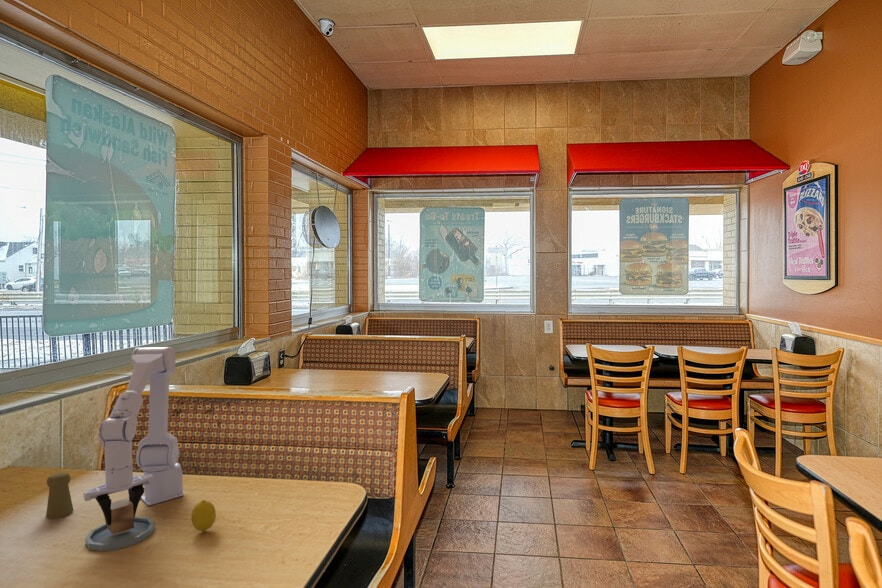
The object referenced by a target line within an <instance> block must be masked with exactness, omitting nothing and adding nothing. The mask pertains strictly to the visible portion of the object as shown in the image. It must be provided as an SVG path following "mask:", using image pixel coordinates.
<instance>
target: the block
mask: <svg viewBox="0 0 882 588" xmlns="http://www.w3.org/2000/svg"><path fill="white" fill-rule="evenodd" d="M107 528H108V529H109V531H110V532H111V533H112V534H115V533H119V532H122V531H125V530H128V529H131V528H134V511H133V503H132V502H131V501H130V500H129V497H128V498H124V499H120V500H117V501H114V502H111V525H107Z"/></svg>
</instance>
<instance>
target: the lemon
mask: <svg viewBox="0 0 882 588" xmlns="http://www.w3.org/2000/svg"><path fill="white" fill-rule="evenodd" d="M216 515H217V513H216V508H215V505H214V504H213V503H212V502H211V501H210V500H209V501H208V500H205V499H202V500H201V501H199V502H198V503H197V504H196V505H195V506H194V507H193V509H192V511H191V518H190V519H191V523H192V526H193V528H194V529H195V530H196V531H197V530H198V531H201V532H202V533H204V532H205V533H206V531H207V530H208V529H210V528H211V527H212V526H213V525H214V523H215V522H216Z"/></svg>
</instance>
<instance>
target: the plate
mask: <svg viewBox="0 0 882 588" xmlns="http://www.w3.org/2000/svg"><path fill="white" fill-rule="evenodd" d="M154 530H155V522H154V521H153V520H152V518H150V517H145V516H144V517H143V516H135V518H134V528H131V529H128V530H125V531H122V532H119V533H115V534H112V533H111V532H110V531H109V529H108V528H107V524H106V522H104V523H103V524H101V525H99V526H97V527H95V528H94V529H92V530H90V532H89V533H88V534H87V535H86V537H85V540H84V541H85V543H84V544H85V545H86V544H87V545H86V546H88V547H87V548H88V550H90V549H91V550H92V551H98V552H107V550H108V551H114V550H115V549H116V550H121V548H122V549H124V547H125V548H128V547H130V546H134V545H137V544H139V543H141V542H142V541H144V540H145V539H147V538H149V537H150V536H151V535H152V534H153V532H154ZM113 549H114V550H113Z"/></svg>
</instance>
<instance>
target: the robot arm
mask: <svg viewBox="0 0 882 588" xmlns="http://www.w3.org/2000/svg"><path fill="white" fill-rule="evenodd" d="M176 356H177V355H176V352H175V350H174V348H173V347H172V346H163V347H162V346H159V347H157V346H156V347H141V346H138V347H135V348H134V349H133V351H132V353H131V355H130V362H131V367H132V368H131V369H132V372H131V375H130V379H129V382H128V385H127V387H126V391H124V392H121V393H120V394H119V395H118V397H117V399H116V402H115V404H114V406H113V408H112V410H111V413H110V415H109V416H108V418H106V419H104V420H103V421H102V422H101V424H100V425H99V429H98V438H99V441H100V442H101V449H102V450H104V471H105V473H104V474H105V484H102V485H99V486H97V487H93V488H91V489H88V490H84V491H83V500H84V502H90V501H92V499H94V500H96V502H97V503H98V505H99V507H100V509H101V511H102V514H103V516H104V517H103V518H104V521H105V523H106V524H107V525H111V503H112V499H111V498H110V495H112V494H115V493H119V492H124V491H128V499H129V500H130V501H131V502H132V503H133V511H134V518H135V517H136V514H137V510H138V506H139V503H140V501H141V500H142V501H143V502H144V503H145V504H146V505H148V506H152V505H156V504H160V503H163V502H166V501H169V500H173V499H176V498H180V497H182V496H184V495H185V494H184V490H183V489H184V486H183V484H184V483H183V470H182V466H181V464H180V463H179V462H178V460H179V457H180V449H179V442H178V441H179V440H178V438H177V437H176V436H174V435H173V434H171V433H170V432H168V431H169V430H168V428H169V427H168V426H169V425H168V424H169V396H170V395H169V394H170V393H169V391H170V390H169V389H170V376H172V375H174V374H175V370H176ZM148 382H149V401H148V402H149V403H148V404H149V405H148V426H147V427H148V428H147V429H148V430H147V431H148V433H147V434H148V435H146V436H144V437H143V438H142V439H140V441H139V442H138V446H137V447H138V449H137V452H136V454H135V461H136V465H137V466H138V467H139V468H141V471H142V472H143V474H144V475H139V476H134V473H133V471H134V470H133V469H134V468H133V440H134V438H135V436H136V434H137V425H138V415H139V412H140V410H141V408H142V406H143V402H144V398H143V396H142V395H143V393H144V392H143V391H144V390H145V388H146V386H147V384H148Z"/></svg>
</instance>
